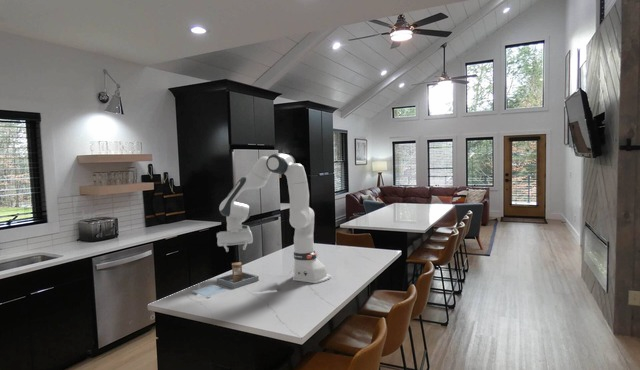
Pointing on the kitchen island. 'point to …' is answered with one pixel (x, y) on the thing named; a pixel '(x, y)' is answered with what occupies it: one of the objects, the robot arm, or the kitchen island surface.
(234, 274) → the walnut block
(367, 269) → the kitchen island surface
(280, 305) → the kitchen island surface
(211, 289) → the light blue flat slab
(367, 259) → the kitchen island surface
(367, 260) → the kitchen island surface
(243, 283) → the parts bin
